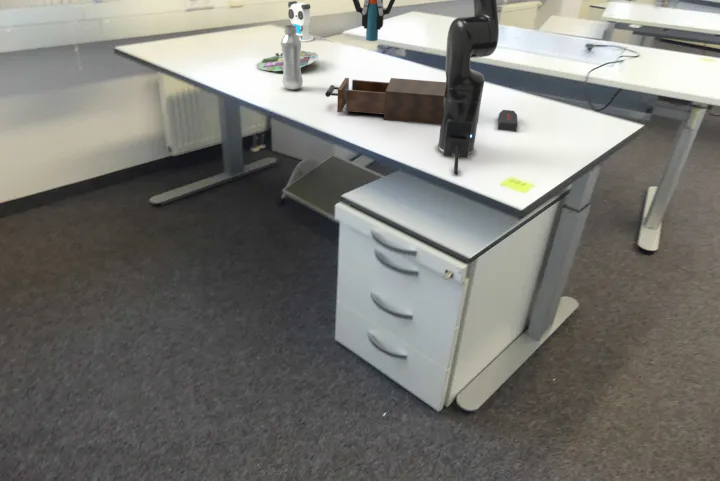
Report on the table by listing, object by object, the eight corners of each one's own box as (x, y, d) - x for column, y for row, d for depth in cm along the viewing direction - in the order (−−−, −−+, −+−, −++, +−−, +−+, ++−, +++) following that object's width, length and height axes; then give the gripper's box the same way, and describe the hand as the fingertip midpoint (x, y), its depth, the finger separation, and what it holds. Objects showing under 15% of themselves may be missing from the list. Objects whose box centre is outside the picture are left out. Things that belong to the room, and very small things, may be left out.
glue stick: (376, 41, 158) (379, -4, 151) (365, 40, 158) (366, -4, 152) (378, 38, 161) (380, -6, 154) (366, 37, 161) (368, -6, 154)
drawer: (323, 110, 163) (323, 88, 159) (331, 98, 173) (331, 76, 170) (395, 117, 161) (396, 94, 157) (399, 103, 171) (401, 82, 167)
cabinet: (383, 119, 161) (385, 91, 156) (389, 104, 172) (390, 77, 168) (446, 125, 159) (450, 96, 154) (447, 109, 170) (451, 82, 165)
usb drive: (497, 129, 157) (499, 120, 156) (498, 115, 167) (499, 107, 165) (516, 131, 156) (518, 122, 155) (515, 117, 166) (517, 109, 165)
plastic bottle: (303, 91, 181) (302, 28, 170) (283, 91, 180) (280, 28, 169) (302, 85, 186) (300, 24, 175) (282, 86, 185) (279, 24, 174)
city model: (253, 63, 214) (250, 48, 211) (311, 53, 219) (309, 38, 216) (264, 83, 195) (261, 66, 191) (327, 71, 200) (325, 55, 196)
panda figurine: (282, 37, 245) (280, 1, 237) (302, 34, 251) (301, -1, 243) (298, 42, 238) (297, 6, 229) (318, 39, 244) (318, 3, 236)
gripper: (347, -38, 146) (346, 29, 155) (399, -35, 144) (395, 33, 154) (352, -41, 152) (350, 24, 162) (402, -38, 151) (397, 27, 160)
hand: (372, 28), depth 158 cm, fingers closed on glue stick, 3 cm apart
